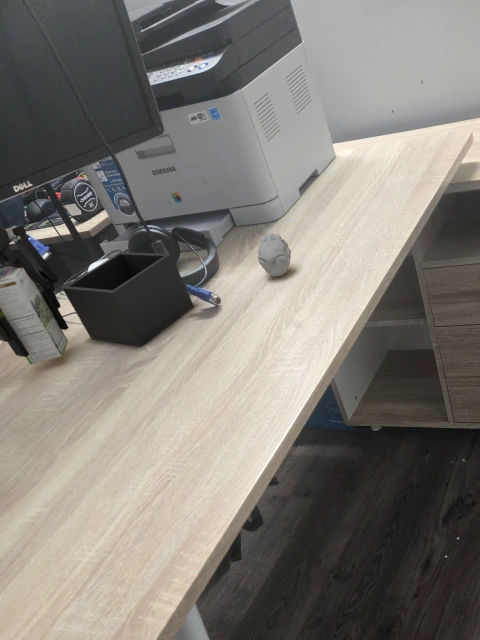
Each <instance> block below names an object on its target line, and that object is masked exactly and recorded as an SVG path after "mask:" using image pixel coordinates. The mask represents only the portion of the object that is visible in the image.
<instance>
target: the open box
mask: <svg viewBox="0 0 480 640" xmlns="http://www.w3.org/2000/svg"><path fill="white" fill-rule="evenodd" d="M62 290H63V292H64V294H65V296H66V298H67V299H68V301H69V303H70V305H71V306H72V308H73V310H74V312H75V313H76V315H77V317H78V318H79V320H80V322H81V324H82V325H83V327H84V329H85V331H86V333H87V334H88V336H89V339H91V340H93V341H100V342H107V343H113V344H120V345H127V346H133V347H140V348H141V347H143V346H144V345H145V344H146V343H148V342H149V341H151V339H153V338H154V337H156V336H157V335H158V334H160V333H161V332H162V331H164V330H165V329H166V328H167V327H169V326H170V325H171V324H174V322H176V321H177V320H179V318H181V317H182V316H183V315H185V314H186V313H187V312H189V311H190V310H191V309H193V308H194V307H195V306H194V303H193V301H192V299H191V296H190V294H189V292H188V289H187V287H186V285H185V283H184V280H183V278H182V275H181V273H180V272H179V269H178V266H177V265H176V262H175V260H174V258H173V255H172V254H171V253H153V252H129V251H128V252H127V251H124V252H123V251H120V252H118V253H116V254H115V255H113V256H112V257H110V258H108V259H107V260H105V261H104V262H102V263H101V264H99V265H97V266H96V267H94V268H92V269H91V270H89V271H87V272H85V273H84V274H83V275H80V277H78V278H77V279H75V280H73V281H72V282H70V283H69V284H67V285H66V286H63V287H62Z"/></svg>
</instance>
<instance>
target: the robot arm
mask: <svg viewBox="0 0 480 640" xmlns="http://www.w3.org/2000/svg"><path fill="white" fill-rule="evenodd" d="M9 241H11V242H14V244H15V246H16V247H17V249H18V250H19V251H20V252H21V254H23V257H25V259H26V260H27V261H28V262H29V263H30V264H31V267H32V268H33V269H34V270H33V269H32V268H31V267H30V266H29V265H27V264H26V263H25V262H24V261H22V260H21V259H20V257H19V256H18V255H17V254H16V253H15V252H13V251H12V250H11V249H10V248H9V244H10V243H9ZM3 264H5V265H7V267H9V266H10V267H16V268H23V269H24V270H25V272H26V274H27V275H28V276H29V277H30V278H31V279H32V280H33V281H34V283H35V284H36V286H37V287H38V289H39V291H40V293H41V294H42V296H43V298H44V300H45V301H46V303H47V305H48V307H49V308H50V310H51V312H52V314H53V315H54V317H55V319H56V321H57V322H58V324H59V326H60V328H61V329H62V331H67V330H68V329H70V327H69V326H68V324H67V322H66V320H65V318H64V316H63V315H62V313H61V312H60V310H59V309H60V308H61V303H60V301H59V300H58V298H57V296H56V294H55V293H54V291H55V286H54V284H56V283H58V281H59V277H58V276H57V275H56V273H55V272H54V270H53V269H52V268H51V267H50V266H49V264H48V263H47V261H46V260H45V258H44V257H43V256H42V255H41V253H39V251H38V250H37V248H36V247H35V246H34V244H33V243H32V242H31V241H30V239H29V237H28V234H27V231H26V229H25V227H24V226H22V225H10V226H9V227H8V228H4V227H2V226H1V225H0V265H3ZM0 341H1V342H5V343H7V344H8V345H9V347H10V348H11V350H12V351H13V353H14V354H15V356H18V357H22V358H26V357H27V356H28V355H29V354H28V352H27V351H26V349H25V348H24V346H23V345H22V343H21V342H20V340H19V339H18V337H17V335H16V334H15V332H14V331H13V329H12V328H11V326H10V325H9V323H8V322H7V320H6V319H1V318H0Z"/></svg>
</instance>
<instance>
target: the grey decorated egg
mask: <svg viewBox="0 0 480 640" xmlns="http://www.w3.org/2000/svg"><path fill="white" fill-rule="evenodd" d="M257 255H258V256H257V257H258V258H257V260H258V264H259V265H261V268H262V269H263V270H264V271H265V272H266V273H267V274H268V275H270V276H271V277H282V276H283V275H285V274H287V272H288V270H289V268H290V265H291V257H292V251H291V249H290V248H289V245H288V242H287V241H286V240H285V239H284V238H282V236H281V235H280V233H275V234H274V233H269V234H266V235H263V236H262V237H260V243H259V247H258V249H257Z"/></svg>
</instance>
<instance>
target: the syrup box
mask: <svg viewBox="0 0 480 640" xmlns="http://www.w3.org/2000/svg"><path fill="white" fill-rule="evenodd" d="M40 292H41V291H40V290H39V289H38V287H37V286H36V284H35V283H34V281H33V280H32V279H31V278H30V277H29V276H28V275H27V274H26V272H25V270H24V269H23V268H16V267H10V266H5V267H2V268H0V319H6V320H7V322H8V323H9V325H10V326H11V328H12V329H13V331H14V332H15V334H16V335H17V337H18V339H19V340H20V342H21V343H22V345H23V346H24V348H25V349H26V351H27V352H28V354H29V355H28V356H27V357H25V359H26V360H27V362H28V364H29V365H31V366H32V365H36V364H39V363H40V364H41V363H44V362H47V361H51V360H54V359H57V358H61V357H62V356H63V355H64V352H65V349H66V347H67V344H68V342H69V340H68V338H67V336H66V334H65V333H64V330H62V329H61V328H60V326H59V324H58V322H57V321H56V319H55V317H54V315H53V314H52V312H51V310H50V308H49V307H48V305H47V303H46V301H45V300H44V298H43V296H42V294H41V293H40Z"/></svg>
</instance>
